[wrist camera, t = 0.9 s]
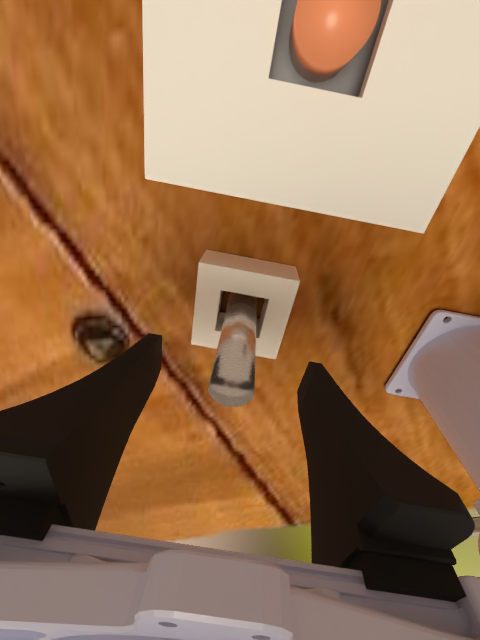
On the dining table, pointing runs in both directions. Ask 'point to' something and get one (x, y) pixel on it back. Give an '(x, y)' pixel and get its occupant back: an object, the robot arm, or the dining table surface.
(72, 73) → the dining table surface
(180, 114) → the white slotted stand
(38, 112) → the dining table surface
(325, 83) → the button
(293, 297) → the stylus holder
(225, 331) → the stylus
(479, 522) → the caliper
